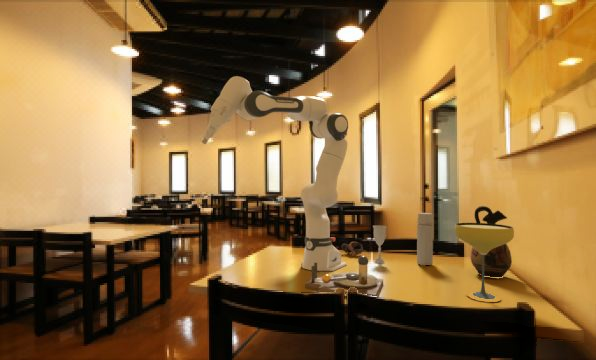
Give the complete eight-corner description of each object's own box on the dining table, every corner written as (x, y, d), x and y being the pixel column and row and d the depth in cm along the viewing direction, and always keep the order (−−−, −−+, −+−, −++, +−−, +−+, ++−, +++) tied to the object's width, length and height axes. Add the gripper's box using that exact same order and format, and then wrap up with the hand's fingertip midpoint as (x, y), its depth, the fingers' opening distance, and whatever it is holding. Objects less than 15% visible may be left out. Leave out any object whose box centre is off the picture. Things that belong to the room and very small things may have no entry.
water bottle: (428, 267, 162) (428, 214, 163) (413, 264, 169) (413, 213, 169) (438, 264, 168) (438, 213, 168) (423, 261, 174) (423, 212, 175)
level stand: (318, 276, 144) (318, 257, 144) (383, 284, 134) (383, 263, 134) (301, 291, 125) (301, 269, 125) (375, 300, 115) (375, 276, 115)
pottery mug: (361, 254, 194) (365, 243, 190) (359, 265, 186) (363, 253, 182) (341, 247, 196) (344, 236, 192) (337, 258, 188) (341, 246, 184)
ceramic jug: (510, 274, 151) (510, 206, 151) (512, 283, 138) (513, 208, 138) (467, 269, 159) (467, 204, 159) (465, 277, 146) (466, 206, 146)
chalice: (370, 260, 175) (370, 225, 175) (383, 260, 175) (383, 225, 176) (375, 264, 168) (375, 227, 168) (388, 264, 168) (388, 227, 168)
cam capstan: (313, 279, 131) (313, 250, 131) (361, 274, 139) (362, 246, 140) (333, 293, 116) (334, 259, 116) (387, 286, 124) (387, 255, 124)
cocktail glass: (445, 289, 128) (445, 222, 128) (492, 289, 129) (492, 222, 129) (472, 307, 110) (472, 229, 110) (526, 306, 111) (527, 229, 111)
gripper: (234, 109, 127) (215, 140, 124) (225, 121, 146) (209, 149, 143) (219, 99, 125) (199, 131, 122) (212, 113, 144) (195, 141, 141)
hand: (204, 141), depth 132 cm, fingers open, 8 cm apart
